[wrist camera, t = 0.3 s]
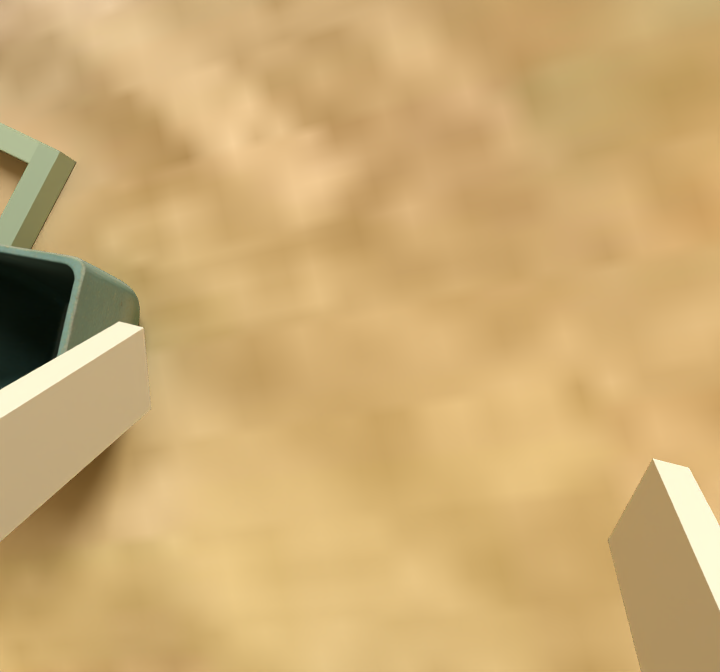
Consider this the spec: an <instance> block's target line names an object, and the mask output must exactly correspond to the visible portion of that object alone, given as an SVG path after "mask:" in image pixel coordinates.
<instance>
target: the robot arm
mask: <svg viewBox="0 0 720 672" xmlns="http://www.w3.org/2000/svg"><path fill="white" fill-rule="evenodd" d="M149 410H151V401H150V390H149V379H148V368H147V357H146V346H145V335H144V328H143V327H139V326H135V325H131V324H127V323H123V322H120V321H119V322H117V323H116V324H114V325H112V326H110V327H109V328H107V329H105V330H104V331H102V332H100V333H98V334H97V335H95V336H93V337H91V338H90V339H88V340H86V341H84V342H83V343H81V344H79V345H77V346H76V347H74V348H72V349H70V350H69V351H67V352H65V353H63V354H62V355H60V356H58V357H56V358H55V359H53V360H51V361H50V362H48V363H46V364H44V365H43V366H41V367H39V368H37V369H36V370H34V371H32V372H30V373H29V374H27V375H25V376H23V377H22V378H20V379H18V380H16V381H15V382H13V383H11V384H9V385H8V386H6V387H4V388H2V389H1V390H0V542H1V541H2V540H3V539H4V538H5V537H6V536H7V535H8V534H10V533H11V532H12V531H13V530H14V529H15V528H16V527H18V526H19V525H20V524H21V523H22V522H23V521H24V520H26V519H27V518H28V517H29V516H30V515H31V514H32V513H33V512H35V511H36V510H37V509H38V508H39V507H40V506H41V505H43V504H44V503H45V502H46V501H47V500H48V499H49V498H51V497H52V496H53V495H54V494H55V493H56V492H57V491H58V490H60V489H61V488H62V487H63V486H64V485H65V484H66V483H68V482H69V481H70V480H71V479H72V478H73V477H74V476H76V475H77V474H78V473H79V472H80V471H81V470H82V469H83V468H85V467H86V466H87V465H88V464H89V463H90V462H91V461H93V460H94V459H95V458H96V457H97V456H98V455H99V454H101V453H102V452H103V451H104V450H105V449H106V448H107V447H108V446H110V445H111V444H112V443H113V442H114V441H115V440H116V439H118V438H119V437H120V436H121V435H122V434H123V433H124V432H126V431H127V430H128V429H129V428H130V427H131V426H132V425H133V424H135V423H136V422H137V421H138V420H139V419H140V418H141V417H143V416H144V415H145V414H146V413H147V412H148V411H149ZM608 543H609V547H610V551H611V555H612V559H613V563H614V567H615V571H616V575H617V579H618V583H619V587H620V591H621V595H622V598H623V602H624V606H625V610H626V614H627V618H628V622H629V626H630V630H631V634H632V638H633V642H634V646H635V650H636V654H637V657H638V661H639V665H640V669H641V672H720V526H719V524H718V522H717V520H716V518H715V516H714V515H713V513H712V511H711V509H710V507H709V505H708V503H707V501H706V499H705V498H704V496H703V494H702V492H701V490H700V488H699V486H698V484H697V482H696V480H695V479H694V477H693V475H692V473H691V471H690V469H689V468H688V467H684V466H680V465H676V464H672V463H668V462H664V461H660V460H657V459H652V461H651V463H650V464H649V466H648V468H647V470H646V472H645V474H644V475H643V477H642V479H641V481H640V483H639V484H638V486H637V488H636V490H635V492H634V494H633V495H632V497H631V499H630V501H629V503H628V504H627V506H626V508H625V510H624V512H623V513H622V515H621V517H620V519H619V521H618V523H617V524H616V526H615V528H614V530H613V532H612V533H611V535H610V537H609V539H608Z"/></svg>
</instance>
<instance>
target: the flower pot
mask: <svg viewBox="0 0 720 672" xmlns="http://www.w3.org/2000/svg"><path fill="white" fill-rule="evenodd" d="M139 313H140V307H139V302H138V298H137V296H136V294H135V293H134V291H133V290H132V289H131V288H130V287H129V286H128V285H127V284H125V283H124V282H122V281H121V280H119V279H117V278H115V277H113V276H112V275H110V274H108V273H106V272H104V271H102V270H101V269H99V268H97V267H95V266H93V265H91V264H89V263H87V262H85V261H83V260H82V259H80V258H77V257H73V256H69V255H62V254H56V253H50V252H44V251H37V250H31V249H26V248H20V247H14V246H8V245H2V244H0V390H1V389H2V388H4V387H6V386H8V385H9V384H11V383H13V382H15V381H16V380H18V379H20V378H22V377H23V376H25V375H27V374H29V373H30V372H32V371H34V370H36V369H37V368H39V367H41V366H43V365H44V364H46V363H48V362H50V361H51V360H53V359H55V358H56V357H58V356H60V355H62V354H63V353H65V352H67V351H69V350H70V349H72V348H74V347H76V346H77V345H79V344H81V343H83V342H84V341H86V340H88V339H90V338H91V337H93V336H95V335H97V334H98V333H100V332H102V331H104V330H105V329H107V328H109V327H110V326H112V325H114V324H116V323H117V322H119V321H120V322H123V323H127V324H131V325H135V326H138V323H139Z"/></svg>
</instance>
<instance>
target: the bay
mask: <svg viewBox="0 0 720 672" xmlns="http://www.w3.org/2000/svg"><path fill="white" fill-rule="evenodd" d="M0 150H1V151H3V152H5V153H7V154H9V155H11V156H13V157H15V158H17V159H19V160H21V161H23V162H25V163H27V164H28V166H27V168H26V169H25V171H24V173H23V175H22V177H21V179H20V181H19V183H18V185H17V187H16V188H15V190H14V192H13V194H12V196H11V198H10V200H9V202H8V204H7V206H6V207H5V209H4V211H3V213H2V215H1V217H0V244H2V245H8V246H14V247H20V248H26V249H31V247H32V245H33V244H34V242H35V240H36V238H37V236H38V234H39V232H40V230H41V228H42V226H43V224H44V222H45V221H46V219H47V217H48V215H49V213H50V211H51V209H52V207H53V205H54V203H55V201H56V199H57V198H58V196H59V194H60V192H61V190H62V188H63V186H64V184H65V182H66V180H67V178H68V177H69V175H70V173H71V171H72V169H73V167H74V165H75V163H76V162H75V161H74V160H72V159H71V158H69V157H68V156H66V155H65V154H63V153H62V152H60V151H58V150H56V149H54V148H52V147H50V146H48V145H46V144H44V143H42V142H39V141H37V140H35V139H33V138H31V137H29V136H27V135H25V134H23V133H21V132H19V131H17V130H15V129H13V128H10V127H8V126H6V125H4V124H2V123H0Z"/></svg>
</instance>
